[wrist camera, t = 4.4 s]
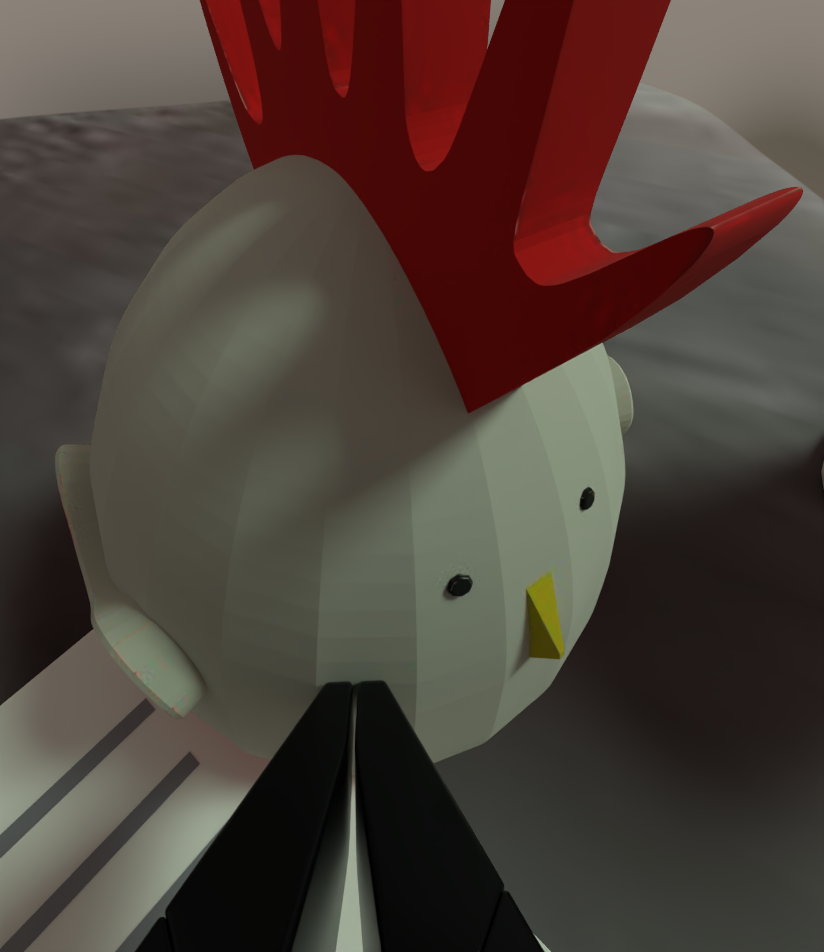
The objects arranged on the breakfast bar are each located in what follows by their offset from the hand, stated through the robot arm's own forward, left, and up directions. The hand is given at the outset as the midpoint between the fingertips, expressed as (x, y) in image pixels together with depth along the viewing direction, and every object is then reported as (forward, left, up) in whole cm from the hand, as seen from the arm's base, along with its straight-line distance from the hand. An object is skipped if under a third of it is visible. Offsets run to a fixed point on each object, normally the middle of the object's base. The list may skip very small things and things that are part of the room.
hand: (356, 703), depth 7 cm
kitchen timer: (+4, +4, -7) cm, 9 cm away
